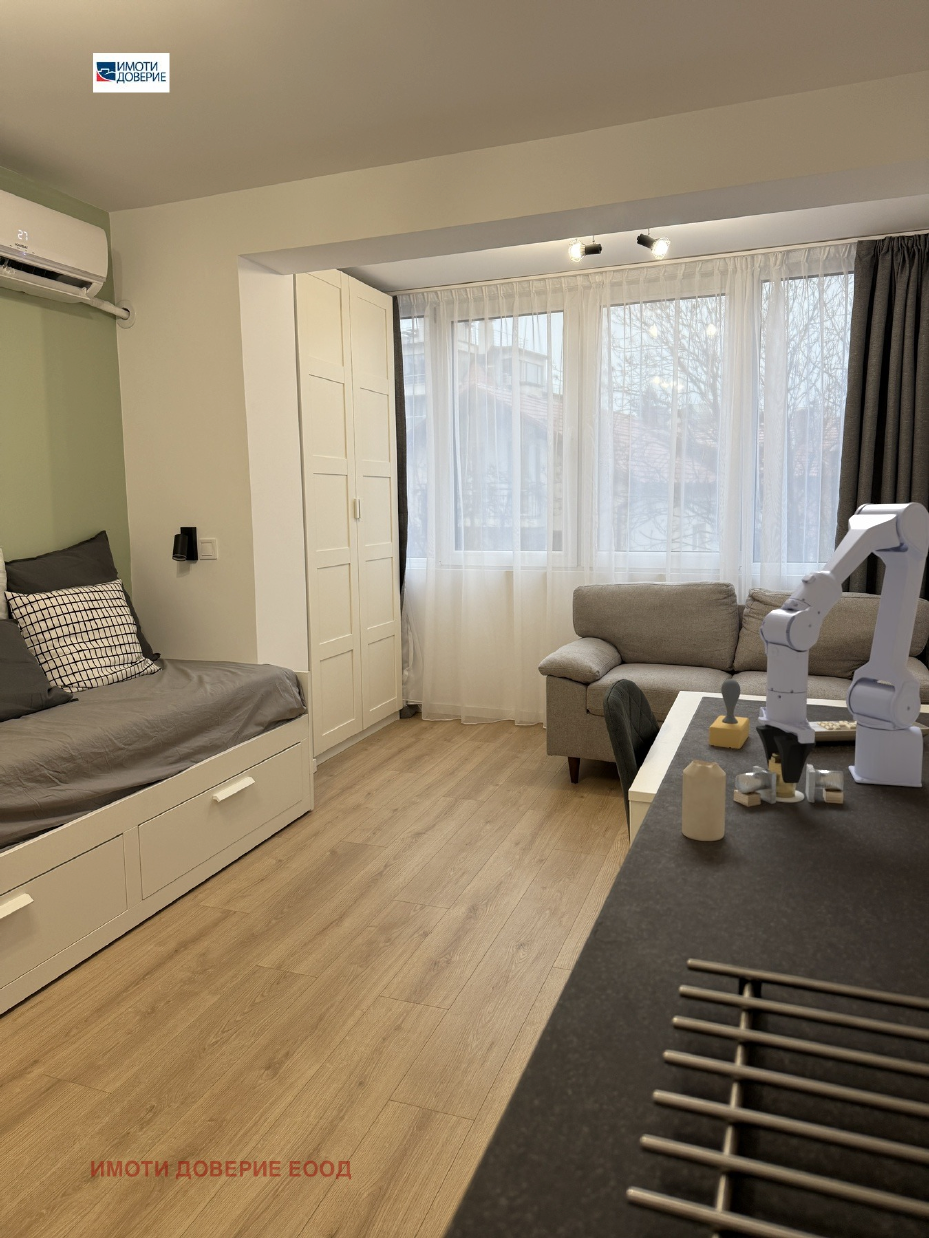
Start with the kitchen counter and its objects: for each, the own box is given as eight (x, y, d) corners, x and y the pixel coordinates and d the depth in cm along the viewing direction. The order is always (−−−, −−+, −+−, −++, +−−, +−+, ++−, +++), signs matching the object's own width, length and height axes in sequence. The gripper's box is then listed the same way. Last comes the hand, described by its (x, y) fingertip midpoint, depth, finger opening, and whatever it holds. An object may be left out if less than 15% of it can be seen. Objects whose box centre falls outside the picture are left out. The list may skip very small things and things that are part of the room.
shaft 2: (808, 801, 124) (809, 771, 123) (805, 793, 127) (806, 764, 127) (843, 804, 122) (844, 774, 122) (839, 795, 126) (840, 766, 125)
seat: (802, 791, 128) (802, 789, 128) (806, 803, 123) (806, 801, 123) (761, 787, 130) (761, 786, 130) (763, 800, 124) (763, 798, 124)
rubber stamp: (740, 749, 152) (742, 685, 151) (708, 745, 155) (710, 682, 153) (749, 736, 161) (750, 675, 160) (718, 733, 164) (720, 673, 162)
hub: (782, 788, 129) (785, 751, 128) (800, 796, 125) (803, 759, 124) (761, 790, 128) (763, 753, 127) (779, 798, 124) (781, 761, 123)
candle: (726, 829, 113) (728, 758, 112) (721, 844, 108) (723, 769, 107) (685, 823, 115) (687, 754, 114) (678, 837, 110) (679, 764, 109)
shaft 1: (756, 794, 127) (757, 765, 126) (775, 802, 123) (776, 772, 123) (731, 799, 125) (732, 769, 124) (750, 807, 121) (751, 777, 121)
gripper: (741, 680, 131) (739, 763, 133) (781, 700, 117) (778, 793, 119) (785, 679, 132) (782, 762, 133) (830, 699, 117) (826, 791, 119)
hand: (783, 777), depth 126 cm, fingers open, 4 cm apart
